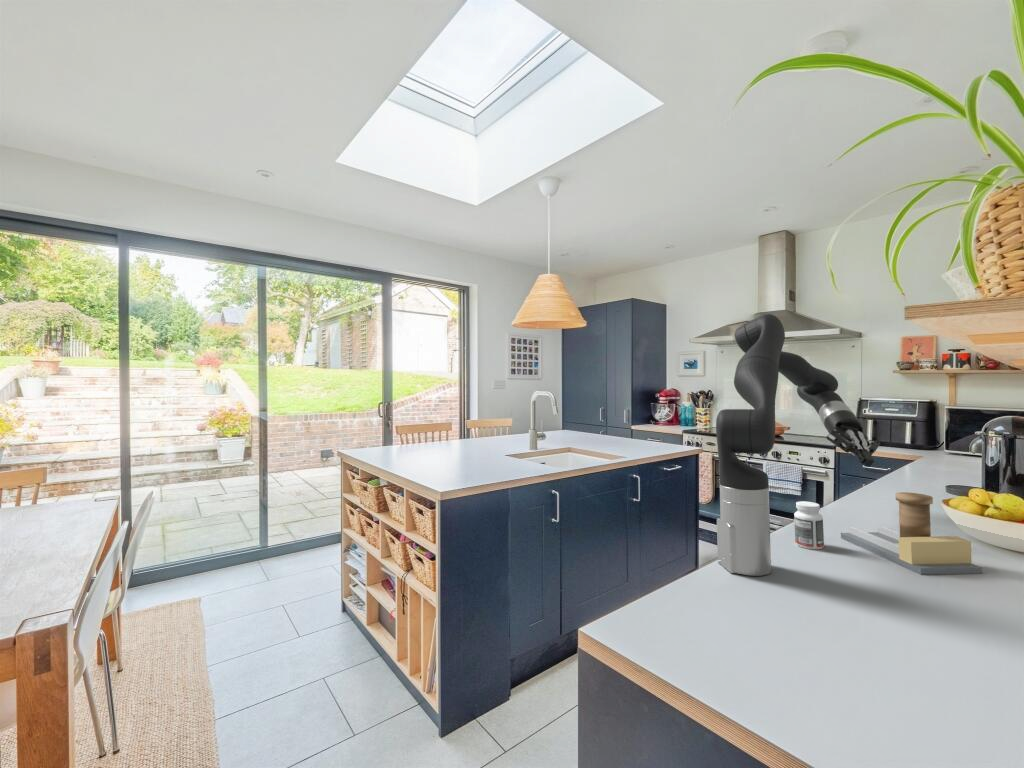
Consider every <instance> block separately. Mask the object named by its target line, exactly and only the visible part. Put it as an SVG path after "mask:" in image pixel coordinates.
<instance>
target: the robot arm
mask: <svg viewBox="0 0 1024 768" xmlns="http://www.w3.org/2000/svg"><path fill="white" fill-rule="evenodd" d="M734 338H735V342H736V344H737V346H738V347H739V349H740V350H741V351H742V352H743V353H744V354H743V355H742V357H741V358H740V359H739V360H738V363H737V365H736V368H735V374H734V377H733V385H734V388H735V390H736V392H737V393H738V394H739V396H740V397H741V398H742V399H743V400H744V401H745V402H747V404H748V405H750V406H751V407H752V408H751V409H748V408H747V409H745V408H744V409H742V408H740V409H739V408H738V409H737V408H735V409H734V408H732V409H721V410H719V412H718V414H717V415H716V420H715V432H716V445H717V454H718V475H719V477H718V480H719V503H720V504H719V505H720V506H719V510H720V513H719V514H720V517H718V518H716V536H717V539H716V541H717V544H716V545H717V546H716V547H717V563H719V564H720V565H721V566H722V567H723V568H724V569H726V571H728V572H729V573H731V574H740V575H745V576H756V577H757V576H759V577H760V576H765V575H769V574H770V573H772V553H771V552H772V550H771V523H770V522H771V521H770V514H771V513H770V487H769V484H770V483H769V476H768V474H767V473H766V471H764V470H760V469H759V468H756V467H753V466H750V465H749V464H747V463H745V462H743V461H742V460H740V459H739V457H738V456H737V454H749V455H750V454H753V455H760V454H761V455H762V454H763V455H764V454H768V453H769V452H771V450H773V448H774V445H775V441H776V399H777V391H778V390H777V389H778V382H779V374H780V375H782V376H783V377H784V378H786V379H787V380H788V381H789V382H791V383H792V384H793V385H795V386H797V388H796V393H797V396H798V397H799V398H800V399H802V400H803V401H804V402H805V403H807V404H809V405H810V406H811V407H813V409H814V410H815V411H816V413H817V415H818V416H819V418H820V421H821V423H822V425H823V426H824V427H825V429H826V430H827V432H828V434H827V436H826V437H825V439H826V440H828V441H829V442H830V443H832V444H833V445H835V446H836V447H838V448H839V449H840V450H842V451H843V452H845V453H847V454H848V453H851V454H852V455H853V456H854V457H855V458H856V459H857V460H858V462H859V463H860V464H861V465H862V466H864V467H868V468H869V467H871V466H872V465H873V464H874V463H875V459H874V458H873V454H874V453H875V452H876V451H877V449H878V448H879V447H880V446H881V442H880V441H878V440H875V441H874V440H873V441H872V440H870V439H869V437H868V435H866V434H865V433H864V431H863V424H862V423H861V422H860V420H859V418H858V417H857V416H856V415H855V413H854V412H853V411H852V409H851V407H849V406H848V405H847V404H846V403H845V401H844V400H843V399H842V397H841V396H840V395H839V394H838V393H836V391H837V390H838V388H839V381H838V379H837V378H836V377H835V376H834V375H833V374H832V373H830V372H828V371H825V370H824V369H823V370H822V369H820V368H817V367H815V366H813V365H812V364H810V362H809V361H807V360H806V358H804V357H802V356H800V355H798V354H797V353H794V352H793V353H792V352H788V351H783V347H784V344H785V340H786V333H785V328H784V326H783V322H782V321H781V320H780V318H778V317H777V316H776V315H774V314H772V313H766V314H762V315H759V316H758V317H756V318H753V319H752V320H749V321H748V322H746V323H744V324H742V325H741V326H739V327H737V328H736V329H735V331H734ZM736 453H737V454H736ZM730 554H731V555H730ZM723 558H724V559H723ZM718 560H721V561H718Z"/></svg>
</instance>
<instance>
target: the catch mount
mask: <svg viewBox="0 0 1024 768" xmlns="http://www.w3.org/2000/svg"><path fill="white" fill-rule="evenodd" d="M848 530H849V532H840V538H841V539H843V540H845V541H847V542H849V543H851V544H853V545H857V546H858V547H860V548H862V549H865V550H867V551H869V552H870V553H874V554H875V555H878V556H880V557H881V558H885V559H886V560H889V561H891V562H892V563H895V564H897V565H899V566H902V567H904V568H906V569H908V570H911V571H913V572H914V573H917V574H919V575H959V574H962V575H963V574H964V575H965V574H966V575H967V574H983V567H982V566H979V565H978V564H974V563H972V541H971V540H969V539H967V538H963V537H960V536H957V535H949V536H944V535H941V536H931V537H900V532H897V531H895V530H893V529H889V528H887V527H885V526H882V525H878V526H877V532H876V531H874V532H873V531H872V532H870V531H869V532H867V531H865V530H862V529H859V528H856V527H854V526H849V527H848ZM894 543H899V545H896V544H894Z"/></svg>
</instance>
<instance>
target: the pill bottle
mask: <svg viewBox="0 0 1024 768" xmlns="http://www.w3.org/2000/svg"><path fill="white" fill-rule="evenodd" d="M795 504H796V505H795V508H796V509H797V511H795V512H794V514H793V515H794V516H793V519H794V520H793V521H794V522H793V523H794V542H795V544H796V546H798V547H800V548H803V549H807V550H821V549H823V548H824V547H825V539H824V538H825V535H824V517H823V515H822V514H821V513H820V510H821V509H820V508H821V507H820V504H819V503H817V502H813V501H804V500H803V501H796V502H795Z"/></svg>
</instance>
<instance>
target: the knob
mask: <svg viewBox="0 0 1024 768" xmlns="http://www.w3.org/2000/svg"><path fill="white" fill-rule="evenodd" d="M933 498H934V497H933V496H931V495H928V494H924V493H916V492H908V491H907V492H904V491H903V492H895V500H896V501H898V516H899V517H898V518H899V519H898V520H899V522H898V523H899V533H900V537H932V535H931V534H932V532H931V505H933V504H934V499H933ZM894 544H896V545H899V543H894Z"/></svg>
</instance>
